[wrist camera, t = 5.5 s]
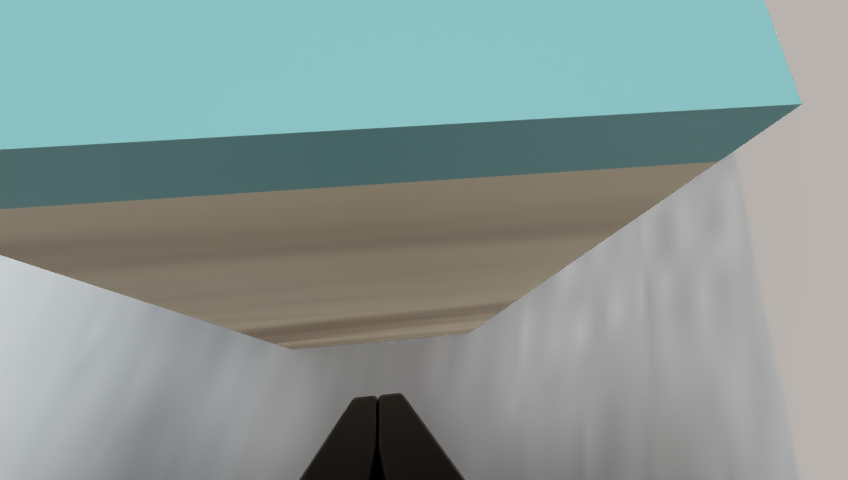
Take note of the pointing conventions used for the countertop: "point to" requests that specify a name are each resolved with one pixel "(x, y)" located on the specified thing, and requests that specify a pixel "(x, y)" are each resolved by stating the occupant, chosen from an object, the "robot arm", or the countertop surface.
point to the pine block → (360, 147)
